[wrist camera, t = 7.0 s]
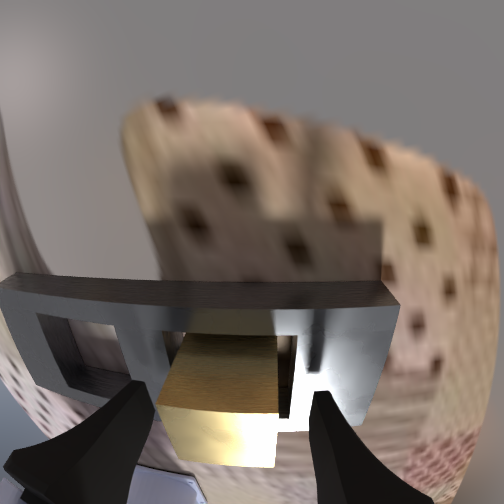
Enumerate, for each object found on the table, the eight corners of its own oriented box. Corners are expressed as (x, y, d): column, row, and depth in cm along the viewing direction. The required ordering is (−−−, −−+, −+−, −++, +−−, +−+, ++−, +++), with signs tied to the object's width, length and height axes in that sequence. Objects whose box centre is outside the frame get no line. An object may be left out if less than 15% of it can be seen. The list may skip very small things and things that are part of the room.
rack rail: (353, 396, 15) (361, 425, 13) (51, 366, 16) (36, 384, 14) (381, 280, 12) (400, 305, 10) (16, 272, 14) (-7, 286, 11)
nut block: (274, 375, 15) (273, 467, 9) (203, 372, 15) (178, 459, 9) (276, 316, 13) (278, 414, 8) (194, 314, 14) (155, 403, 8)
